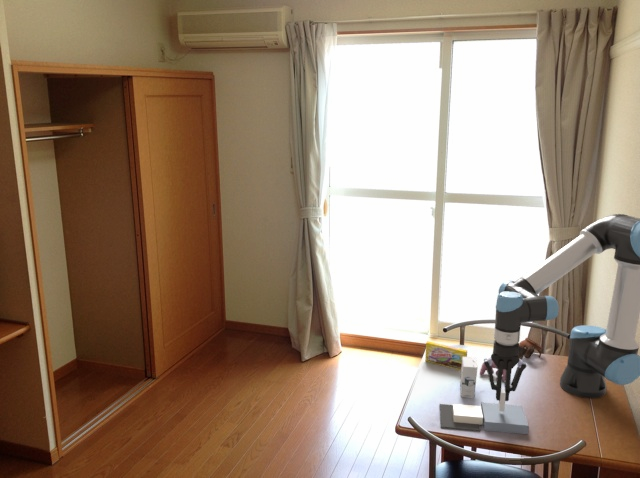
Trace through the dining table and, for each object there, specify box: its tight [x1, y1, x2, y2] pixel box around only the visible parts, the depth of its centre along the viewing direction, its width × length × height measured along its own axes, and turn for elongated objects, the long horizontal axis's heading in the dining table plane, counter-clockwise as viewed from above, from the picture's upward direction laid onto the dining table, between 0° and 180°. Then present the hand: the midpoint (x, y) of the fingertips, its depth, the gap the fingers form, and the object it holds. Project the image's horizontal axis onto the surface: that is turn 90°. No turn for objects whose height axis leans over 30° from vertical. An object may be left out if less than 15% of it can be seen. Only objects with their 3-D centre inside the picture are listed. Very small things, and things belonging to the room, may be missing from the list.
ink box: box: [459, 356, 478, 399], centre depth 203 cm, size 9×5×12 cm, turn 168°
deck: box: [480, 401, 529, 435], centre depth 185 cm, size 13×12×3 cm
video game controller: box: [479, 361, 506, 383], centre depth 215 cm, size 10×5×7 cm, turn 59°
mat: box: [439, 403, 481, 433], centre depth 187 cm, size 12×14×1 cm
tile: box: [452, 403, 484, 426], centre depth 187 cm, size 9×7×2 cm
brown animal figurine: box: [518, 337, 543, 360], centre depth 231 cm, size 12×10×8 cm
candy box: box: [424, 340, 468, 371], centre depth 223 cm, size 16×2×8 cm, turn 58°
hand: (501, 409), depth 184 cm, fingers closed
